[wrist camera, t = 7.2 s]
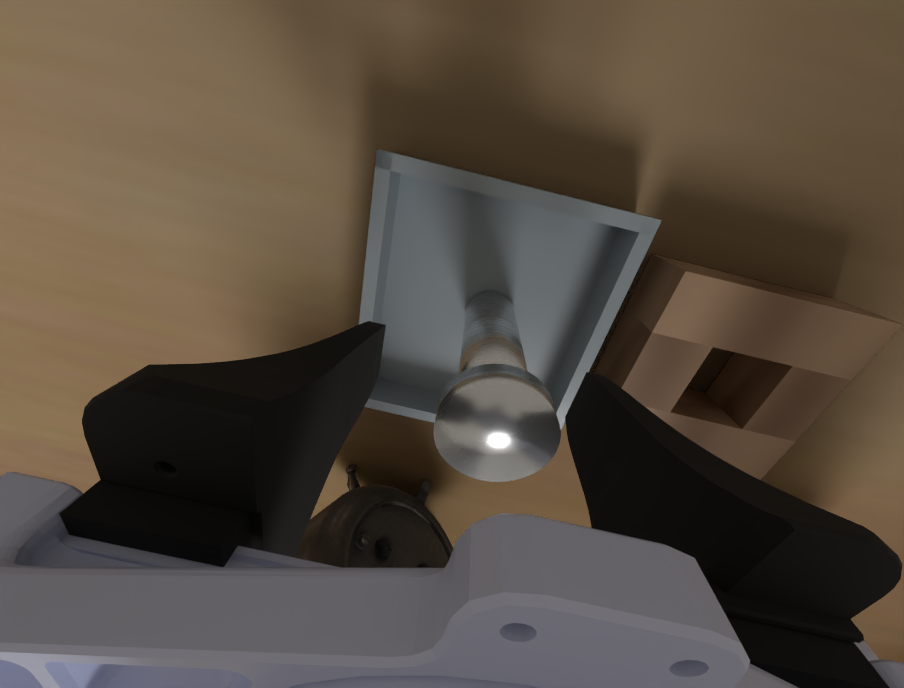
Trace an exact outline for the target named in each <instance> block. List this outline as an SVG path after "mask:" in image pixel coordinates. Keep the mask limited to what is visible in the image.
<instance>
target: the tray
mask: <svg viewBox="0 0 904 688" xmlns="http://www.w3.org/2000/svg"><path fill="white" fill-rule="evenodd" d="M661 221H662V220H659V219H656V218H652V217H649V216H645V215H642V214H638V213H635V212H631V211H627V210H623V209H619V208H615V207H611V206H607V205H603V204H599V203H595V202H591V201H587V200H583V199H579V198H575V197H571V196H567V195H563V194H559V193H555V192H551V191H547V190H543V189H539V188H535V187H531V186H527V185H523V184H519V183H515V182H511V181H507V180H503V179H499V178H495V177H491V176H487V175H483V174H479V173H475V172H471V171H467V170H463V169H459V168H455V167H451V166H447V165H443V164H439V163H435V162H431V161H427V160H423V159H419V158H415V157H411V156H407V155H403V154H399V153H395V152H390V151H384V150H379V149H377V153H376V162H375V172H374V182H373V191H372V201H371V211H370V220H369V230H368V240H367V249H366V259H365V269H364V278H363V288H362V298H361V307H360V317H359V325H360V324H362V323H364V322H367V321H371V322H376V323H380V324H384V325H386V329H385V336H384V342H383V349H382V356H381V363H380V370H379V375H378V378H377V380H376V383H375V385H374V388H373V390H372V393H371V395H370V397H369V399H368V401H367V403H366V404H365V406H364V407H367V408H371V409H375V410H380V411H384V412H389V413H393V414H398V415H402V416H406V417H411V418H415V419H420V420H424V421H428V422H433V423H435V417H436V412H437V407H438V401H439V398H440V395H441V393H442V391H443V389H444V388H445V387H446V385H447V384H448V383H449V382H450V381H451V380H452V379H453V378H454V377H455V376H457V375H458V374H459V365H460V356H461V348H462V339H463V331H464V322H465V314H466V307H467V304H468V302H469V301H470V299H471V298H472V297H473V296H474V295H475V294H477V293H479V292H481V291H484V290H496V291H500V292H502V293H503V294H505V295H506V296H507V297H508V298H509V299H510V300H511V302H512V304H513V307H514V312H515V316H516V321H517V325H518V330H519V334H520V339H521V343H522V348H523V352H524V357H525V361H526V366H527V370H528V372H530V373H531V374H533V375H534V376H536V377H537V378H538V379H539V380H540V381H541V382H542V383H543V384H544V385H545V386H546V388H547V389H548V391H549V393H550V395H551V398H552V401H553V404H554V407H555V411H556V414H557V417H558V421H559V424H560V430H561V429H562V426H563V424H564V422H565V416H566V414H567V412H568V410H569V408H570V406H571V404H572V401H573V399H574V397H575V395H576V393H577V391H578V389H579V387H580V385H581V383H582V381H583V379H584V376H585V374H586V372H589V370H590V368H591V366H592V364H593V362H594V360H595V358H596V356H597V354H598V352H599V350H600V348H601V346H602V344H603V341H604V339H605V337H606V335H607V333H608V331H609V329H610V327H611V325H612V323H613V321H614V319H615V317H616V314H617V312H618V310H619V308H620V306H621V304H622V302H623V300H624V298H625V296H626V294H627V292H628V290H629V288H630V285H631V283H632V281H633V279H634V277H635V275H636V273H637V271H638V269H639V267H640V265H641V263H642V261H643V259H644V256H645V254H646V252H647V250H648V248H649V246H650V244H651V242H652V240H653V238H654V236H655V234H656V232H657V229H658V227H659V225H660V223H661Z"/></svg>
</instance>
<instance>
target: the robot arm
mask: <svg viewBox="0 0 904 688" xmlns="http://www.w3.org/2000/svg"><path fill="white" fill-rule="evenodd" d="M385 329H386V325H384V324H380V323H376V322H371V321H367V322H364V323H362V324H360V325H357V326H355V327H353V328H351V329H348V330H346V331H344V332H341V333H339V334H337V335H334V336H332V337H329V338H327V339H324V340H321V341H319V342H316V343H313V344H310V345H307V346H304V347H301V348H298V349H294V350H290V351H286V352H282V353H278V354H273V355H267V356H261V357H256V358H250V359H244V360H235V361H227V362H215V363H201V364H168V365H148V366H146V367H144V368H143V369H141V370H139V371H138V372H136V373H134V374H132V375H131V376H129V377H127V378H126V379H124V380H122V381H121V382H119V383H117V384H116V385H114V386H112V387H110V388H109V389H107V390H105V391H104V392H102V393H100V394H99V395H97V396H95V397H94V398H92V399H91V401H90V402H89V403H88V404H87V405H86V407H85V409H84V414H83V418H82V425H83V430H84V435H85V438H86V441H87V444H88V446H89V449H90V452H91V455H92V457H93V460H94V463H95V465H96V468H97V471H98V474H99V476H100V479H101V480H100V481H99V482H97V483H96V484H95V485H94V486H93V487H91V488H90V489H89V490H88V491H86V492H85V493H84V494H83V493H82V492H81V491H80V490H78V489H77V488H76V487H74V486H72V485H69V484H67V483H64V482H59V481H55V480H50V479H45V478H41V477H36V476H31V475H27V474H22V473H17V472H7V473H5V474H4V475H2V476H0V688H904V663H902V662H897V661H892V660H883V659H878V658H877V656H876V655H875V654H874V652H873V651H872V650H871V649H870V647H869V646H868V645H867V644H866V642H865V641H864V638H863V634H862V633H861V632H860V631H859V629H858V628H857V627H856V626H855V624H854V623H853V622H852V621H851V618H852V617H854V616H855V615H857V614H858V613H860V612H861V611H863V610H864V609H866V608H867V607H869V606H870V605H872V604H873V603H875V602H876V601H878V600H879V599H881V598H882V597H884V596H885V595H886V594H887V593H889V592H890V591H891V590H892V589H893V588H894V587H895V586H896V584H897V583H898V581H899V580H900V578H901V571H902V563H901V561H900V559H899V557H898V555H897V554H896V553H895V552H894V551H893V550H892V549H890V548H889V547H888V546H887V545H886V544H885V543H884V542H883V541H882V540H881V539H880V538H879V537H878V536H877V535H875V534H874V533H873V532H871V531H870V530H868V529H867V528H865V527H863V526H861V525H859V524H856V523H854V522H852V521H849V520H847V519H845V518H842V517H840V516H837V515H835V514H833V513H830V512H828V511H826V510H823V509H821V508H819V507H816V506H814V505H811V504H809V503H807V502H804V501H802V500H800V499H798V498H796V497H794V496H792V495H790V494H787V493H785V492H783V491H781V490H779V489H777V488H775V487H773V486H771V485H769V484H767V483H765V482H763V481H761V480H759V479H757V478H755V477H753V476H751V475H749V474H747V473H746V472H744V471H742V470H740V469H738V468H736V467H735V466H733V465H731V464H729V463H727V462H726V461H724V460H722V459H720V458H719V457H717V456H715V455H714V454H712V453H710V452H709V451H707V450H706V449H704V448H702V447H701V446H699V445H698V444H696V443H695V442H693V441H691V440H690V439H688V438H687V437H685V436H684V435H682V434H681V433H680V432H678V431H677V430H675V429H674V428H673V427H671V426H670V425H668V424H667V423H666V422H664V421H663V420H662V419H660V418H659V417H658V416H656V415H655V414H654V413H652V412H651V411H650V410H649V409H647V408H646V407H645V406H643V405H642V404H641V403H640V402H638V401H637V400H636V399H635V398H633V397H632V396H631V395H630V394H628V393H627V392H626V391H624V390H623V389H622V388H621V387H619V386H618V385H617V384H615V383H614V382H612V381H611V380H609V379H608V378H606V377H604V376H602V375H597V374H593V373H589V372H586V374H585V376H584V379H583V381H582V383H581V385H580V387H579V389H578V391H577V393H576V395H575V397H574V399H573V401H572V404H571V406H570V408H569V410H568V412H567V414H566V416H565V420H566V428H567V435H568V442H569V445H570V449H571V452H572V456H573V459H574V462H575V466H576V469H577V472H578V475H579V479H580V482H581V485H582V489H583V492H584V495H585V498H586V502H587V506H588V510H589V515H590V520H591V526H592V528H588V527H584V526H579V525H575V524H570V523H566V522H561V521H557V520H552V519H548V518H543V517H539V516H534V515H525V514H498V515H495V516H492V517H489V518H486V519H483V520H480V521H477V522H475V523H473V524H471V525H470V526H469V528H468V529H467V530H466V531H465V532H464V533H463V534H462V535H461V537H460V538H459V539H458V540H457V541H456V543H455V546H454V548H453V551H452V554H451V557H450V559H449V562H448V563H447V565H446V566H445V568H341V567H336V566H332V565H327V564H322V563H317V562H313V561H308V560H303V559H299V558H295V555H296V553H297V550H298V548H299V545H300V542H301V540H302V537H303V535H304V532H305V530H306V527H307V525H308V522H309V520H310V518H311V515H312V513H313V510H314V508H315V505H316V503H317V500H318V498H319V496H320V493H321V491H322V489H323V486H324V484H325V481H326V479H327V477H328V475H329V472H330V470H331V468H332V465H333V463H334V461H335V459H336V456H337V454H338V452H339V450H340V448H341V446H342V444H343V443H344V441H345V439H346V437H347V436H348V434H349V432H350V431H351V429H352V427H353V425H354V424H355V422H356V420H357V418H358V417H359V415H360V413H361V411H362V410H363V408H364V406H365V404H366V403H367V401H368V399H369V397H370V395H371V393H372V390H373V388H374V385H375V383H376V380H377V378H378V375H379V370H380V363H381V356H382V349H383V342H384V336H385Z"/></svg>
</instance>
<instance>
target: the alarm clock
mask: <svg viewBox="0 0 904 688" xmlns="http://www.w3.org/2000/svg"><path fill="white" fill-rule="evenodd" d="M346 472H347V474H348V483H347V485H348V488H349V492H346V493H345V494H343V495H342V496H341V497H339V498H338V499H337V500H335V501H334V502H333V503H331V504H330V505H329V506H327V507H326V508H325V509H323V510H322V511H321V512H320V513H318V514H317V515H316V516H314V517H313V518H312V519H310V520H309V522H308V525H307V527H306V530H305V532H304V535H303V537H302V540H301V542H300V545H299V548H298V550H297V553H296V555H295V558H299V559H303V560H308V561H313V562H317V563H322V564H327V565H332V566H336V567H341V568H445V566H446V565H447V563H448V562H449V559H450V557H451V554H452V551H453V547H452V545H451V543H450V541H449V539H448V537H447V535H446V534H445V532H444V530H443V529H442V527H441V525H440V524H439V523H438V521H437V520H436V519H435V517H434V516H433V515H432V514H431V513H430V511H429V510H428V509H427V508H426V507H425V506H424V503H425V501H426V497H427V495H428V492H429V490H430V483H429V481H424V482H423V483H422V485H421V488H420V490H419V491H418V493H417V495H416V496H411V495H409V494H407V493H405V492H404V491H401V490H399V489H396V488H393V487H389V486H384V485H367V486H362V487H360V485H359V482H358V480H357V478H356V476H355V472H356V468H355V466H353V465H349V466H348V467H347V469H346Z"/></svg>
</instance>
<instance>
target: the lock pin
mask: <svg viewBox="0 0 904 688" xmlns="http://www.w3.org/2000/svg"><path fill="white" fill-rule="evenodd" d="M433 436H434V442H435V445H436V448H437V450H438V451H439V453H440V455H441V456H442V457H443V459H444V460H445V461H446V462H447V463H448V464H449V465H450V466H452V467H453V468H454V469H456V470H457V471H459V472H461V473H463V474H464V475H467V476H469V477H472V478H475V479H479V480H484V481H493V482H503V481H512V480H516V479H520V478H523V477H526V476H529V475H531V474H533V473H535V472H536V471H538V470H540V469H541V468H542V467H544V466H545V465H546V464H547V463H548V462H549V461H550V460H551V458H552V457H553V456H554V454H555V453H556V451H557V448H558V446H559V443H560V437H561V430H560V424H559V421H558V417H557V414H556V411H555V407H554V404H553V401H552V398H551V395H550V393H549V391H548V389H547V388H546V386H545V385H544V384H543V383H542V382H541V381H540V380H539V379H538V378H537V377H536V376H534V375H533V374H531V373H530V372H528V370H527V366H526V361H525V357H524V352H523V348H522V343H521V339H520V334H519V330H518V325H517V321H516V316H515V312H514V307H513V304H512V302H511V300H510V299H509V298H508V297H507V296H506V295H505V294H503V293H502V292H500V291H496V290H484V291H481V292H479V293H477V294H475V295H474V296H473V297H472V298H471V299H470V301H469V302H468V304H467V307H466V314H465V322H464V331H463V339H462V348H461V356H460V365H459V374H458V375H457V376H455V377H454V378H453V379H452V380H451V381H450V382H449V383H448V384H447V385H446V387H445V388H444V389H443V391H442V393H441V395H440V398H439V401H438V407H437V412H436V417H435V423H434V429H433Z"/></svg>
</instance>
